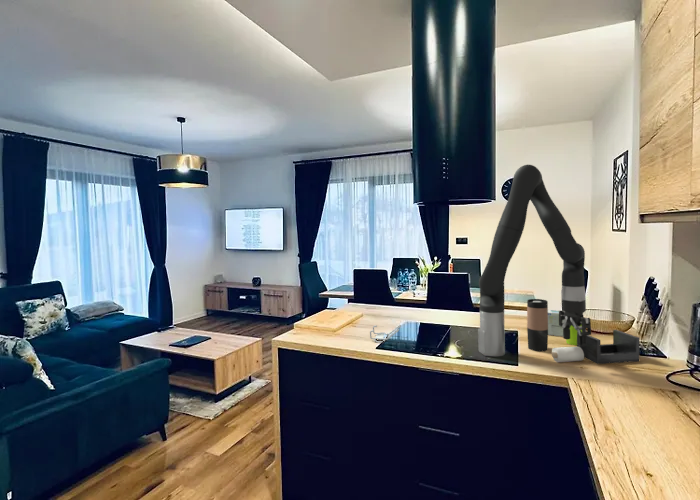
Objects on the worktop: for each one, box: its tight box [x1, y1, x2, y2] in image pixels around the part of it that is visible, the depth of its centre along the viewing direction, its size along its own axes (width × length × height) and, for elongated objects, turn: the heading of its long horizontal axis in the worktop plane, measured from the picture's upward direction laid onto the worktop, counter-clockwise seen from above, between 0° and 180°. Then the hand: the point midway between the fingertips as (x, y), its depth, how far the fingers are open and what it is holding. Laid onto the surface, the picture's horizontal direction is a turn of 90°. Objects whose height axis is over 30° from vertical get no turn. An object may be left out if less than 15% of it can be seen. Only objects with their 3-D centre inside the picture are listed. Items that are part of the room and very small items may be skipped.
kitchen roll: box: [551, 345, 585, 363], centre depth 140 cm, size 11×5×5 cm
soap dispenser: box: [565, 325, 582, 346], centre depth 159 cm, size 6×7×20 cm
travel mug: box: [526, 298, 549, 352], centre depth 154 cm, size 8×8×20 cm
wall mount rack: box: [369, 324, 402, 343], centre depth 177 cm, size 16×14×6 cm
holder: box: [576, 329, 640, 365], centre depth 142 cm, size 16×11×9 cm
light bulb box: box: [548, 309, 564, 337], centre depth 175 cm, size 11×7×11 cm, turn 58°
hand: (574, 342), depth 137 cm, fingers open, 8 cm apart
